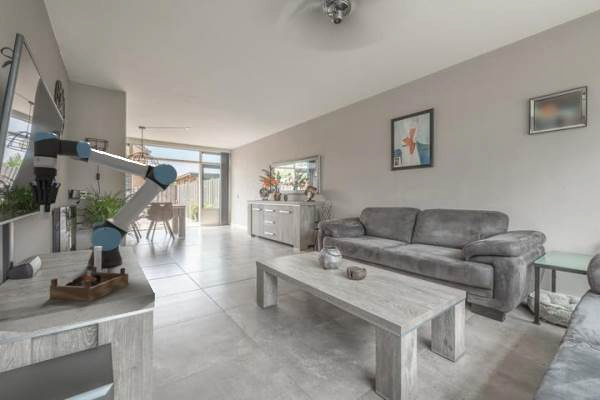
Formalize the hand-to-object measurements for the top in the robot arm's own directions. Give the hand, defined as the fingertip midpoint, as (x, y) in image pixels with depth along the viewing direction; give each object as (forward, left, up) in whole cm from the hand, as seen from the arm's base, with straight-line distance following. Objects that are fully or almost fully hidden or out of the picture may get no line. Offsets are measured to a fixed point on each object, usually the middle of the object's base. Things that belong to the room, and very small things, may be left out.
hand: (44, 219), depth 117 cm
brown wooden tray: (+12, +34, -26) cm, 45 cm away
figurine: (-1, +25, -27) cm, 37 cm away
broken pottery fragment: (+13, +33, -27) cm, 44 cm away
